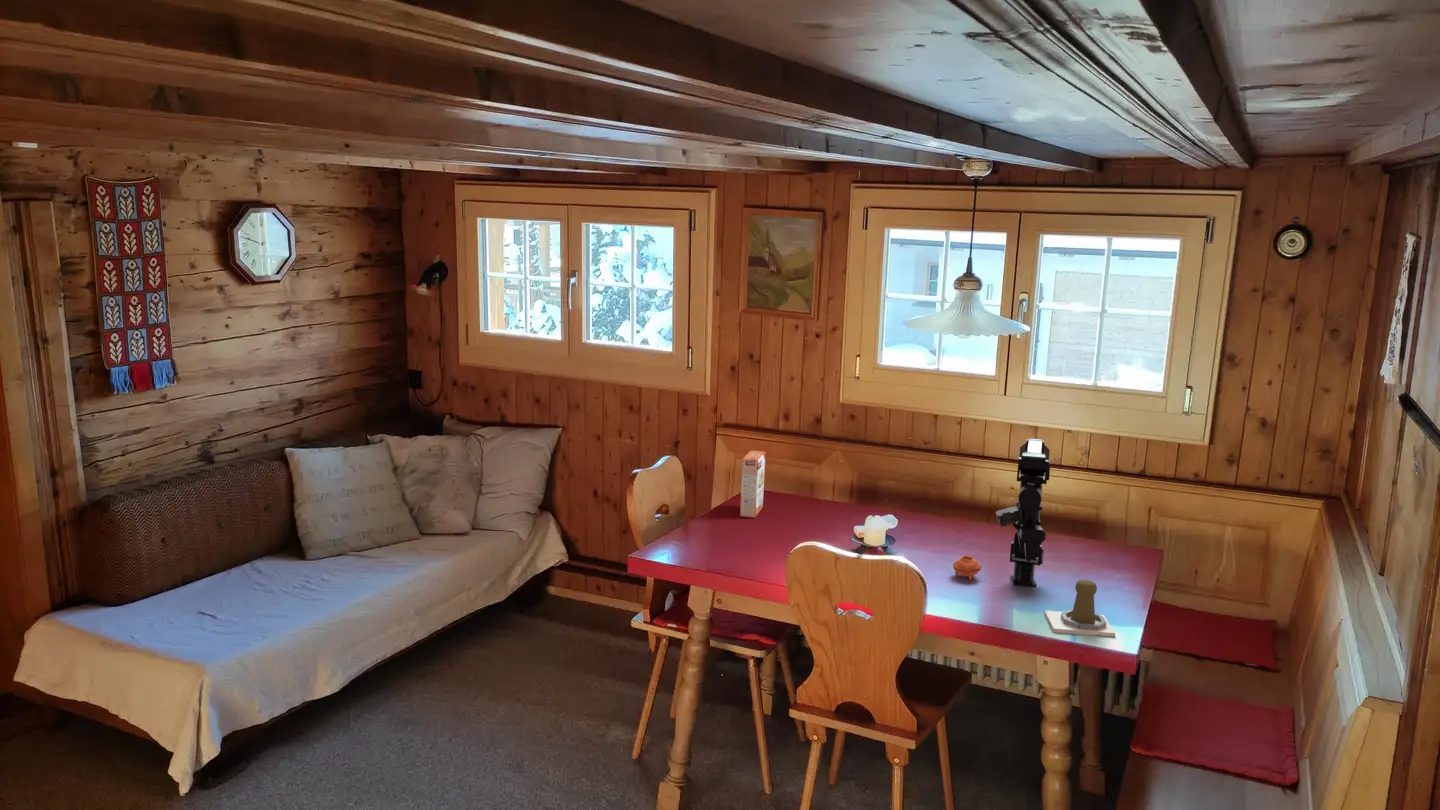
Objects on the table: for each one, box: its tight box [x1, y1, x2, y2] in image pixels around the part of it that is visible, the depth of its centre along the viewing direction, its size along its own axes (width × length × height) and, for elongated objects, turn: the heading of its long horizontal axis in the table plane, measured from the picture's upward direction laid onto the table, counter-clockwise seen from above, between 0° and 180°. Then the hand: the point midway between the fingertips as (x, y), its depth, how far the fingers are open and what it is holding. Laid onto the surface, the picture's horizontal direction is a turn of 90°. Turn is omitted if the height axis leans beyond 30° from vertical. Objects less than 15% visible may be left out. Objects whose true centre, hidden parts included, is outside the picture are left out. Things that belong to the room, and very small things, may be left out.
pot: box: [952, 555, 982, 582], centre depth 289 cm, size 8×8×7 cm
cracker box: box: [739, 450, 767, 519], centre depth 346 cm, size 14×6×21 cm, turn 167°
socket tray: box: [1044, 608, 1116, 637], centre depth 256 cm, size 12×15×2 cm
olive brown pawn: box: [1070, 579, 1098, 624], centre depth 255 cm, size 6×6×11 cm
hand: (1025, 555), depth 270 cm, fingers open, 9 cm apart
